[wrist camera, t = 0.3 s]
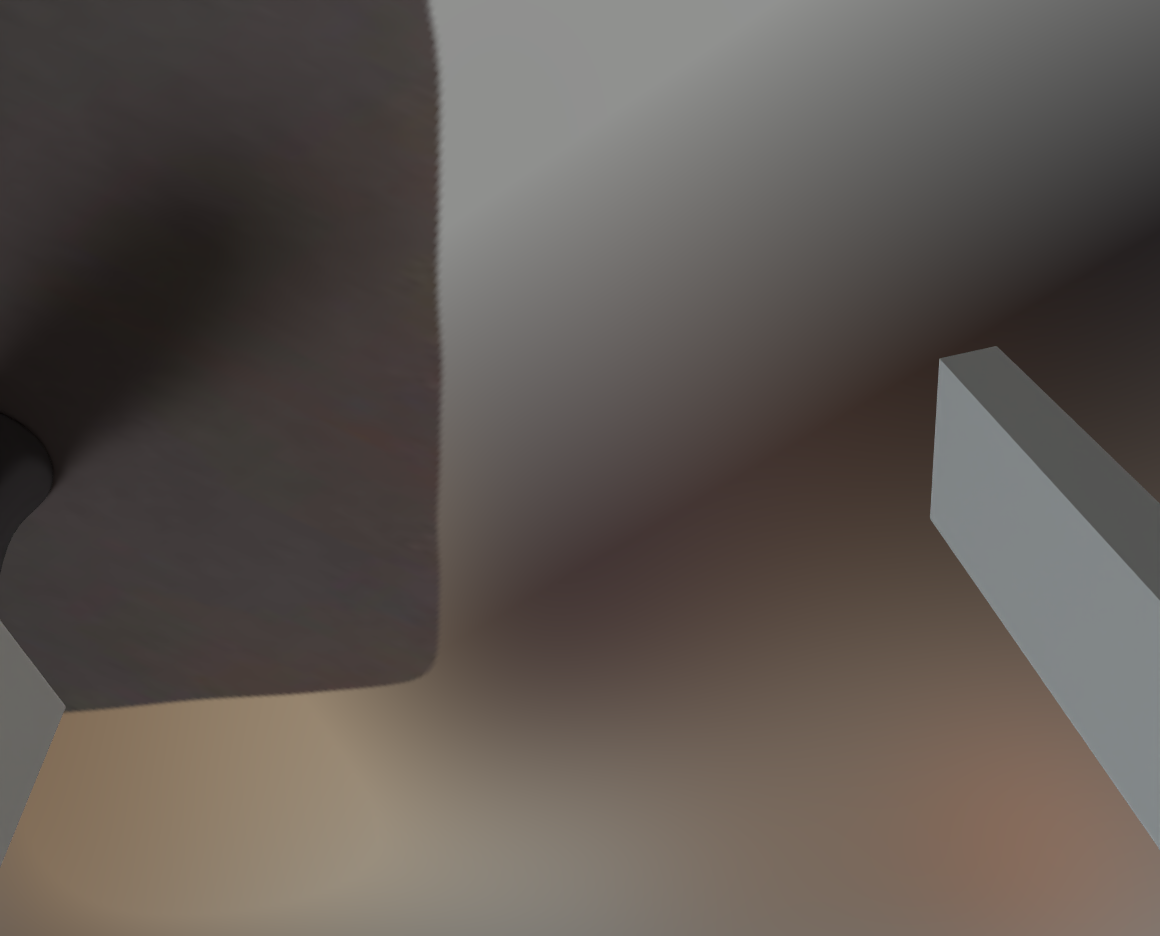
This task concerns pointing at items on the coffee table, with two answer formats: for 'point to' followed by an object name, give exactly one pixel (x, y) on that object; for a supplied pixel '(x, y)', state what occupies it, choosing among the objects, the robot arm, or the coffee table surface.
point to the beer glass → (20, 478)
